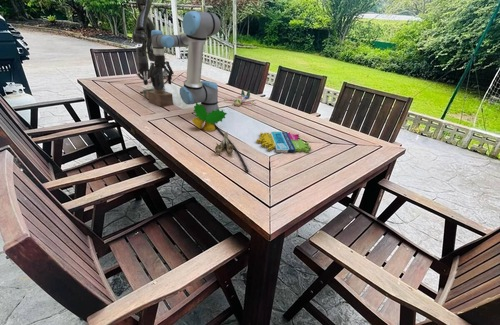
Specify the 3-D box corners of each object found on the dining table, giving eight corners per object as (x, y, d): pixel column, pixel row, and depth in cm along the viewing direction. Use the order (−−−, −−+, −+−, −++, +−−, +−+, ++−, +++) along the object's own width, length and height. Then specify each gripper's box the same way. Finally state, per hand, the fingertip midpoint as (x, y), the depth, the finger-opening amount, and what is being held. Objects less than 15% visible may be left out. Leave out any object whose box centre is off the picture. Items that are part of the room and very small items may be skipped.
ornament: (218, 133, 171) (224, 110, 169) (221, 134, 163) (227, 111, 161) (186, 125, 162) (192, 101, 160) (189, 126, 155) (195, 101, 153)
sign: (313, 150, 142) (258, 149, 139) (312, 153, 143) (258, 152, 140) (301, 132, 164) (254, 130, 161) (301, 134, 165) (254, 133, 162)
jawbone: (234, 135, 144) (233, 125, 135) (233, 160, 138) (232, 151, 129) (217, 135, 144) (216, 125, 135) (216, 160, 138) (214, 150, 129)
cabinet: (149, 102, 204) (148, 91, 200) (161, 99, 211) (160, 89, 207) (161, 106, 196) (160, 95, 192) (173, 104, 203) (172, 93, 199)
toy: (261, 91, 228) (254, 99, 202) (261, 99, 231) (253, 108, 205) (231, 87, 233) (220, 95, 207) (230, 95, 236) (219, 104, 210)
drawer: (140, 96, 212) (138, 88, 209) (150, 94, 218) (149, 87, 215) (154, 102, 201) (153, 94, 198) (164, 100, 207) (163, 92, 204)
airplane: (141, 75, 282) (140, 66, 277) (171, 74, 295) (170, 65, 290) (147, 84, 254) (145, 74, 249) (179, 82, 267) (178, 72, 262)
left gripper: (148, 60, 207) (150, 82, 215) (132, 61, 198) (135, 84, 206) (153, 61, 203) (155, 84, 211) (137, 63, 194) (140, 86, 202)
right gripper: (170, 53, 195) (173, 82, 205) (139, 55, 177) (144, 86, 188) (177, 54, 191) (179, 84, 201) (145, 56, 173) (149, 88, 184)
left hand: (145, 84), depth 209 cm, fingers closed
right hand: (162, 85), depth 194 cm, fingers open, 13 cm apart
